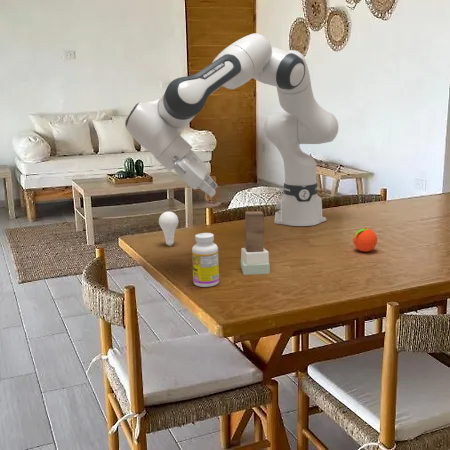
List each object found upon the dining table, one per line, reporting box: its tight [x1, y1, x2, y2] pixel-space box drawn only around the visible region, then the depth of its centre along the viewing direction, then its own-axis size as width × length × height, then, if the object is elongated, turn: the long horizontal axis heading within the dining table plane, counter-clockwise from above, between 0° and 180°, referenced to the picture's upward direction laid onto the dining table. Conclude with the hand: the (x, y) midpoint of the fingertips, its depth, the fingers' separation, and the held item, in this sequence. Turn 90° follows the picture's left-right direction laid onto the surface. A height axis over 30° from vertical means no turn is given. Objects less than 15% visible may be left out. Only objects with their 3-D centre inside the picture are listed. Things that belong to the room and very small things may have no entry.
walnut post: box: [244, 210, 265, 252], centre depth 160 cm, size 4×4×10 cm
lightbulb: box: [158, 211, 179, 247], centre depth 187 cm, size 6×6×11 cm
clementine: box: [352, 227, 378, 253], centre depth 175 cm, size 8×7×7 cm
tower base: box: [240, 258, 271, 276], centre depth 161 cm, size 7×7×3 cm
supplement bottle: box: [191, 232, 220, 288], centre depth 150 cm, size 7×7×13 cm
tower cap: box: [240, 247, 270, 265], centre depth 161 cm, size 6×6×3 cm
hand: (215, 191), depth 156 cm, fingers open, 8 cm apart
